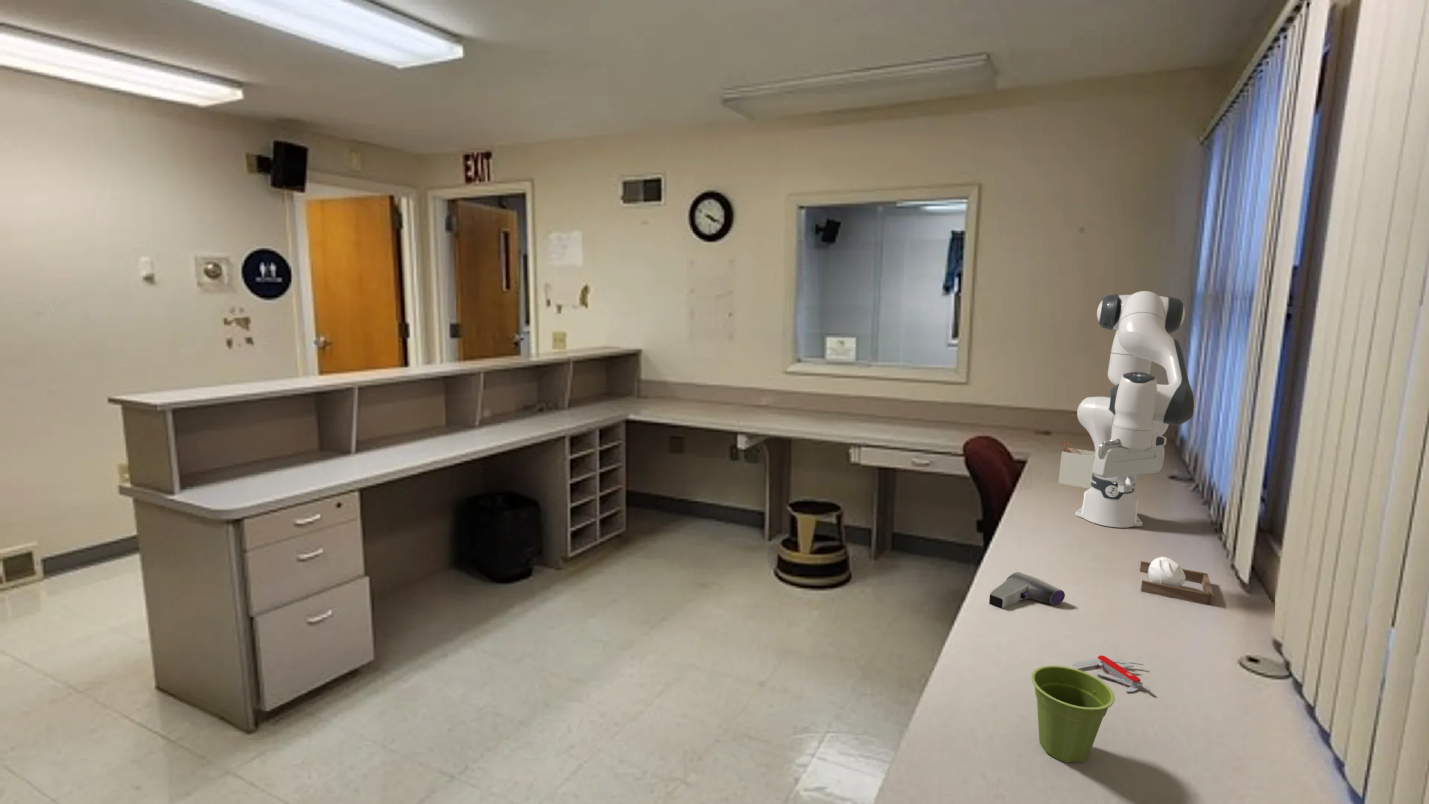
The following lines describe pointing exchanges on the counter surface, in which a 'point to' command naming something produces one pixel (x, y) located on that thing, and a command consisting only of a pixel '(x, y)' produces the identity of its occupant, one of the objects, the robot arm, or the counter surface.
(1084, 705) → the plant pot
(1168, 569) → the white sculpted ball
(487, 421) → the counter surface
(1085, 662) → the swiss army knife
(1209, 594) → the bay
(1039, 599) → the infrared thermometer
